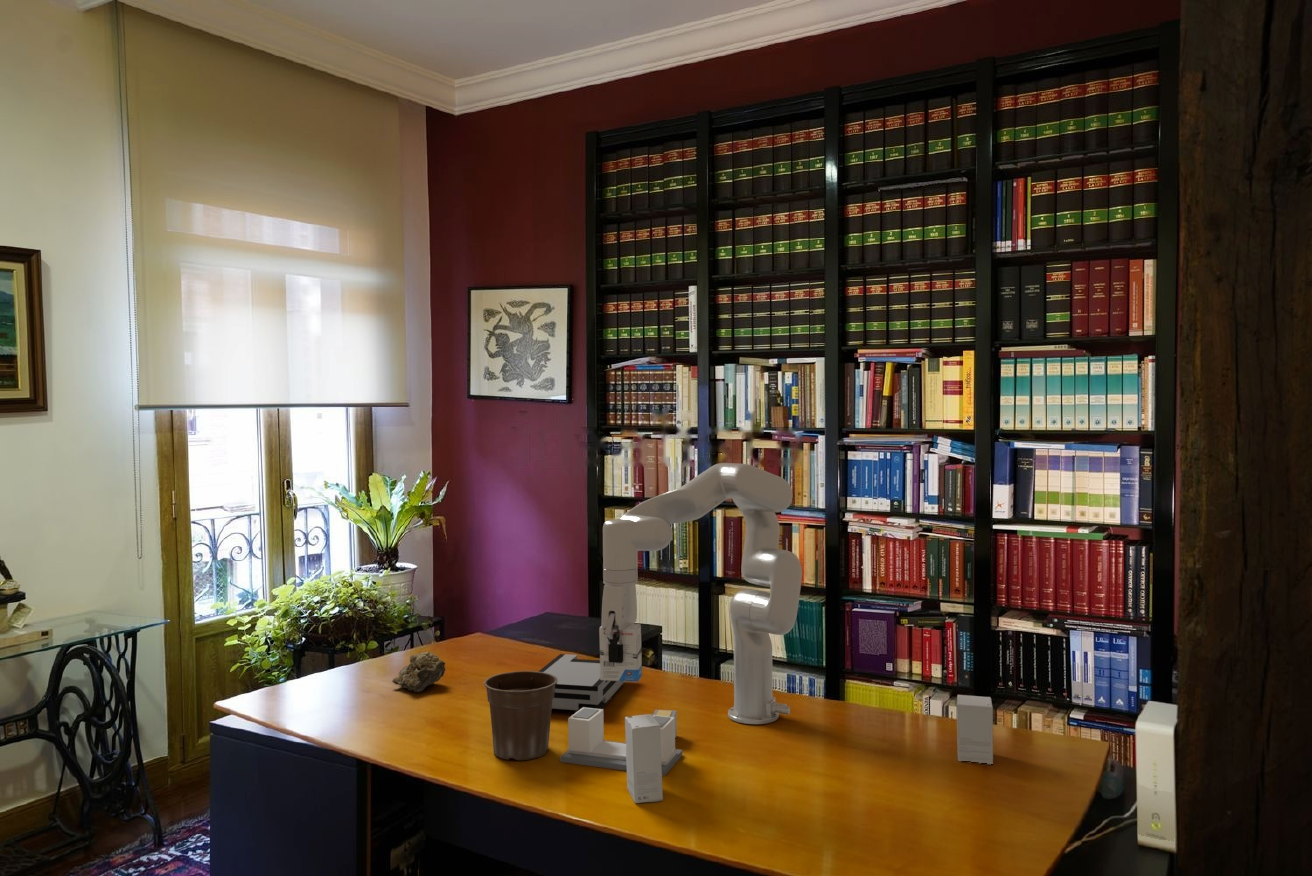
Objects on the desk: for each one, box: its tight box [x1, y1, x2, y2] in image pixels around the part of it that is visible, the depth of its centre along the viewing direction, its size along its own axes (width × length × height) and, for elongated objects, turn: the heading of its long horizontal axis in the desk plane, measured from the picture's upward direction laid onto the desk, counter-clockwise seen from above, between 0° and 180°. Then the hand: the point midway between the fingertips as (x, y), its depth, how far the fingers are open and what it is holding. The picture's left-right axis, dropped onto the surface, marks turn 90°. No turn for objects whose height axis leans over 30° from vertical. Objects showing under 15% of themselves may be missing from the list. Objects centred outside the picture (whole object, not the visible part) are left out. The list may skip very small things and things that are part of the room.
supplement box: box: [956, 694, 994, 765], centre depth 195 cm, size 7×7×13 cm
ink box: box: [598, 623, 643, 683], centre depth 196 cm, size 9×5×12 cm, turn 78°
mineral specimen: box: [391, 651, 446, 693], centre depth 250 cm, size 14×13×10 cm
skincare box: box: [624, 713, 664, 804], centre depth 177 cm, size 8×6×15 cm
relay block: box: [652, 709, 678, 738], centre depth 208 cm, size 5×6×6 cm
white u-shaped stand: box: [559, 707, 683, 777], centre depth 196 cm, size 24×12×9 cm, turn 71°
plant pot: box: [483, 670, 558, 761], centre depth 201 cm, size 16×16×16 cm
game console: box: [537, 653, 624, 714], centre depth 241 cm, size 21×32×8 cm, turn 167°
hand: (621, 657), depth 196 cm, fingers closed on ink box, 5 cm apart
